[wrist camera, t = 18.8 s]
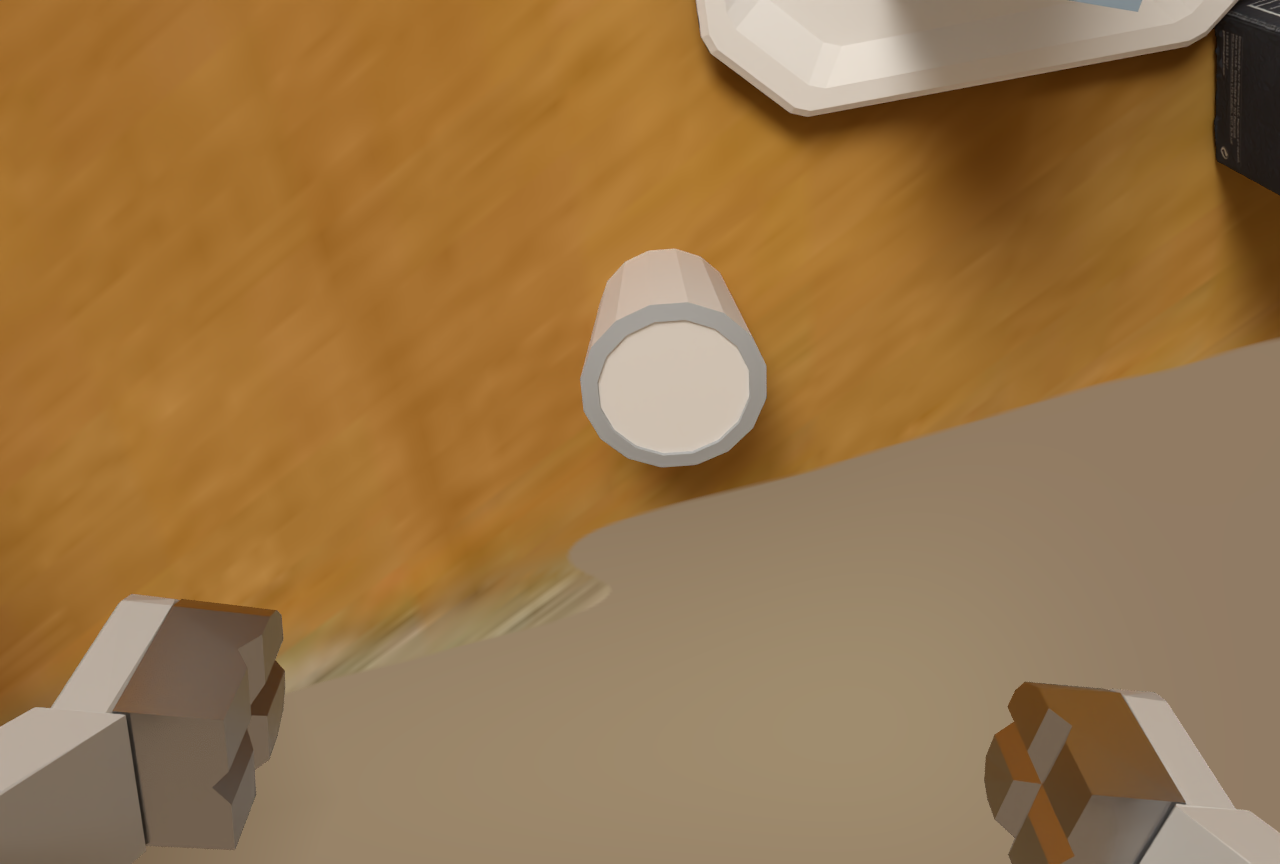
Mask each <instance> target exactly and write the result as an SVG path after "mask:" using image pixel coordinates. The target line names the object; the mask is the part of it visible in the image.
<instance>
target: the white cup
mask: <svg viewBox="0 0 1280 864" xmlns="http://www.w3.org/2000/svg"><path fill="white" fill-rule="evenodd" d="M580 381H581V390H582V399H583V408H584V412H585V414H586V416H587V417H588V419H589V420H590V422H591V424H592V425H593V427H594V429H595V430H596V432H597V434H598V435H599V437H600V438H601V439H602V440H603V441H604V442H606V443H607V444H609V445H610V446H611V447H613V448H614V449H616V450H617V451H618V452H620V453H621V454H622V455H624V456H625V457H627V458H628V459H632V460H636V461H639V462H643V463H647V464H650V465H654V466H658V467H674V466H688V465H697V464H700V463H702V462H704V461H707V460H709V459H711V458H714V457H716V456H718V455H721V454H723V453H725V452H728V451H729V450H730V449H731V448H732V447H733V446H734V445H735V444H737V443H738V442H739V441H740V440H741V439H742V438H743V437H744V436H745V435H746V434H747V433H748V432H749V431H750V430H751V429H752V428H753V427H754V425H755V422H756V420H757V418H758V416H759V414H760V411H761V409H762V407H763V405H764V403H765V400H766V398H767V395H766V364H765V362H764V360H763V358H762V356H761V354H760V352H759V350H758V348H757V346H756V344H755V341H754V339H753V337H752V335H751V333H750V331H749V329H748V327H747V325H746V323H745V321H744V319H743V318H742V316H741V314H740V312H739V310H738V308H737V306H736V304H735V302H734V300H733V298H732V296H731V294H730V292H729V290H728V288H727V286H726V284H725V282H724V280H723V278H722V276H721V274H720V273H719V272H718V271H717V270H716V269H715V268H714V267H712V266H711V265H710V264H709V263H708V262H706V261H705V260H704V259H703V258H702V257H700V256H697V255H694V254H691V253H688V252H684V251H681V250H678V249H665V250H651V251H647V252H645V253H643V254H641V255H639V256H636V257H634V258H632V259H630V260H628V261H626V262H624V263H623V265H622V266H621V267H620V268H619V269H618V270H617V271H616V272H615V273H614V274H613V276H612V277H611V278H610V279H609V280H608V281H607V284H606V287H605V290H604V293H603V296H602V299H601V302H600V305H599V308H598V312H597V316H596V320H595V324H594V328H593V332H592V336H591V339H590V343H589V347H588V351H587V355H586V359H585V363H584V367H583V370H582V374H581V378H580Z"/></svg>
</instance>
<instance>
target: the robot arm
mask: <svg viewBox="0 0 1280 864" xmlns="http://www.w3.org/2000/svg"><path fill="white" fill-rule="evenodd" d="M282 641H283V629H282V617H281V614H280V613H279V612H278V611H277V610H270V609H262V608H253V607H245V606H237V605H228V604H220V603H211V602H203V601H195V600H186V599H181V600H176V599H169V598H161V597H152V596H144V595H136V594H131V595H129V596H128V597H127V598H125V599H124V600H122V601H121V602H120V603H119V604H118V605H117V607H116V608H115V610H114V611H113V613H112V614H111V616H110V617H109V619H108V620H107V622H106V624H105V625H104V627H103V628H102V630H101V631H100V633H99V634H98V636H97V637H96V639H95V640H94V642H93V644H92V645H91V647H90V648H89V650H88V651H87V653H86V654H85V656H84V657H83V659H82V660H81V662H80V664H79V665H78V667H77V668H76V670H75V671H74V673H73V674H72V676H71V677H70V679H69V680H68V682H67V683H66V685H65V687H64V688H63V690H62V691H61V693H60V694H59V696H58V697H57V699H56V700H55V702H54V703H53V705H52V707H51V708H41V707H34V708H32V709H31V710H29V711H27V712H25V713H24V714H22V715H20V716H18V717H17V718H15V719H13V720H11V721H9V722H8V723H6V724H4V725H2V726H1V727H0V864H132V863H133V862H134V861H135V860H136V859H138V858H139V857H140V856H141V855H142V854H143V853H145V852H146V846H161V847H184V848H204V849H226V850H235V849H236V846H237V844H238V841H239V838H240V836H241V833H242V830H243V828H244V825H245V823H246V820H247V817H248V815H249V812H250V809H251V806H252V804H253V802H254V799H255V796H256V786H255V770H256V769H257V768H258V767H260V766H261V765H262V764H264V763H265V762H267V761H268V760H269V759H270V756H271V753H272V750H273V747H274V745H275V742H276V739H277V736H278V731H279V727H280V722H281V717H282V712H283V707H284V695H285V670H284V669H283V668H282V667H281V666H280V665H279V664H278V663H277V662H276V661H275V658H276V656H277V653H278V651H279V648H280V646H281V643H282ZM1008 709H1009V711H1010V713H1011V716H1012V718H1013V720H1014V722H1013V723H1011V724H1010V725H1008V726H1007V727H1005V728H1004V729H1002V730H1001V731H1000V732H998V733H997V734H995V735H994V738H993V740H992V742H991V745H990V747H989V750H988V752H987V755H986V763H985V777H984V781H985V788H986V793H987V800H988V802H989V805H990V808H991V810H992V813H993V816H994V819H995V820H996V821H997V822H998V823H1000V825H1001V826H1003V827H1004V828H1005V829H1006V830H1007V831H1008V832H1009V833H1010V834H1011V835H1013V837H1014V838H1015V839H1014V841H1013V844H1012V846H1011V849H1010V851H1009V854H1008V855H1009V858H1010V860H1011V863H1012V864H1280V833H1279V832H1278V831H1276V830H1275V829H1274V828H1272V827H1271V826H1269V825H1268V824H1267V823H1265V822H1264V821H1262V820H1261V819H1260V818H1258V817H1257V816H1256V815H1255V814H1253V813H1252V812H1250V811H1247V810H1237V809H1235V807H1234V806H1233V804H1232V803H1231V801H1230V799H1229V798H1228V796H1227V795H1226V793H1225V792H1224V790H1223V789H1222V787H1221V785H1220V784H1219V782H1218V781H1217V779H1216V778H1215V776H1214V775H1213V773H1212V772H1211V770H1210V768H1209V767H1208V765H1207V764H1206V762H1205V761H1204V759H1203V757H1202V756H1201V754H1200V753H1199V751H1198V750H1197V748H1196V747H1195V745H1194V743H1193V742H1192V740H1191V739H1190V737H1189V736H1188V734H1187V732H1186V731H1185V729H1184V728H1183V726H1182V725H1181V723H1180V722H1179V720H1178V719H1177V717H1176V715H1175V714H1174V712H1173V711H1172V709H1171V708H1170V706H1169V704H1168V703H1167V701H1166V700H1164V699H1163V698H1162V697H1160V696H1159V695H1157V694H1156V693H1155V692H1146V691H1133V690H1121V689H1110V690H1107V689H1101V688H1090V687H1078V686H1068V685H1056V684H1045V683H1033V682H1024V683H1023V684H1022V685H1021V686H1020V687H1019V688H1018V689H1016V690H1015V692H1014V694H1013V696H1012V698H1011V700H1010V702H1009V705H1008Z"/></svg>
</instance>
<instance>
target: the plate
mask: <svg viewBox="0 0 1280 864" xmlns="http://www.w3.org/2000/svg"><path fill="white" fill-rule="evenodd" d="M1237 2H1238V0H1142V2H1141V5H1140V8H1139V10H1138V12H1135V11H1129V10H1123V9H1117V8H1111V7H1105V6H1099V5H1093V4H1087V3H1081V2H1075V1H1069V0H696V7H697V14H698V21H699V28H700V36H701V38H702V40H703V42H704V43H705V45H706V47H707V49H708V50H709V52H710V54H712V55H713V56H714V57H716V58H717V59H719V60H720V61H721V62H723V63H724V64H725V65H727V66H728V67H729V68H731V69H732V70H733V71H735V72H736V73H737V74H739V75H740V76H741V77H743V78H744V79H745V80H747V81H748V82H749V83H751V84H752V85H753V86H755V87H756V88H757V89H759V90H760V91H761V92H763V93H764V94H765V95H767V96H768V97H769V98H771V99H772V100H773V101H775V102H776V103H777V104H779V105H780V106H781V107H783V108H784V109H785V110H787V111H788V112H789V113H792V114H797V115H801V116H806V117H810V116H815V115H821V114H826V113H832V112H837V111H842V110H848V109H853V108H859V107H864V106H869V105H875V104H880V103H886V102H891V101H896V100H902V99H907V98H913V97H918V96H923V95H929V94H934V93H939V92H945V91H950V90H956V89H961V88H966V87H972V86H977V85H983V84H988V83H993V82H999V81H1004V80H1010V79H1015V78H1020V77H1026V76H1031V75H1037V74H1042V73H1047V72H1053V71H1058V70H1064V69H1069V68H1074V67H1080V66H1085V65H1090V64H1096V63H1101V62H1107V61H1112V60H1117V59H1123V58H1128V57H1134V56H1139V55H1144V54H1150V53H1155V52H1161V51H1166V50H1171V49H1177V48H1182V47H1188V46H1189V45H1191V44H1193V43H1194V42H1196V41H1198V40H1200V39H1201V38H1203V37H1205V36H1206V35H1207V34H1208V33H1209V32H1210V31H1211V30H1212V29H1213V28H1214V27H1215V25H1216V24H1217V23H1218V22H1219V21H1220V20H1221V19H1222V18H1223V17H1224V16H1225V15H1226V14H1227V12H1228V11H1229V10H1230V9H1231V8H1232V7H1233V6H1234V5H1235V4H1236V3H1237Z"/></svg>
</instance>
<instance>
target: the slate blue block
mask: <svg viewBox="0 0 1280 864" xmlns="http://www.w3.org/2000/svg"><path fill="white" fill-rule="evenodd" d="M1069 1H1075V2H1081V3H1087V4H1093V5H1099V6H1105V7H1111V8H1117V9H1123V10H1129V11H1135V12H1138V10H1139V8H1140V5H1141V2H1142V0H1069Z"/></svg>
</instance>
